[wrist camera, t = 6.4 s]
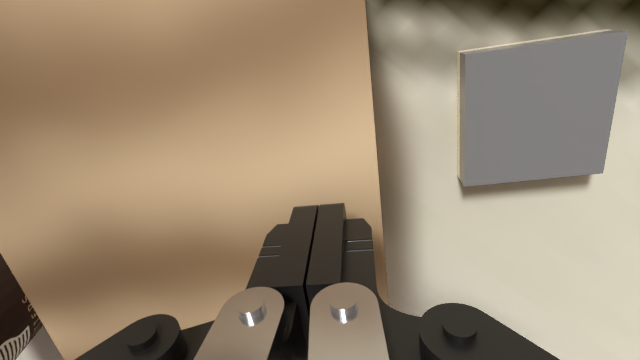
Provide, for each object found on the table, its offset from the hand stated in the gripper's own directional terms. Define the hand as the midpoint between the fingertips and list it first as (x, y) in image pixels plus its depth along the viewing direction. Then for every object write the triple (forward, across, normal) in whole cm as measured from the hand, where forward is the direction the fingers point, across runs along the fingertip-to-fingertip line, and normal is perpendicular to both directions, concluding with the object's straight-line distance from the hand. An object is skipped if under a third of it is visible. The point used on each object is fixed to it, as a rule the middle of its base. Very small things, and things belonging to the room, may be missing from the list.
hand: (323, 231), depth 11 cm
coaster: (+9, -10, 0) cm, 14 cm away
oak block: (+11, +5, 0) cm, 12 cm away
